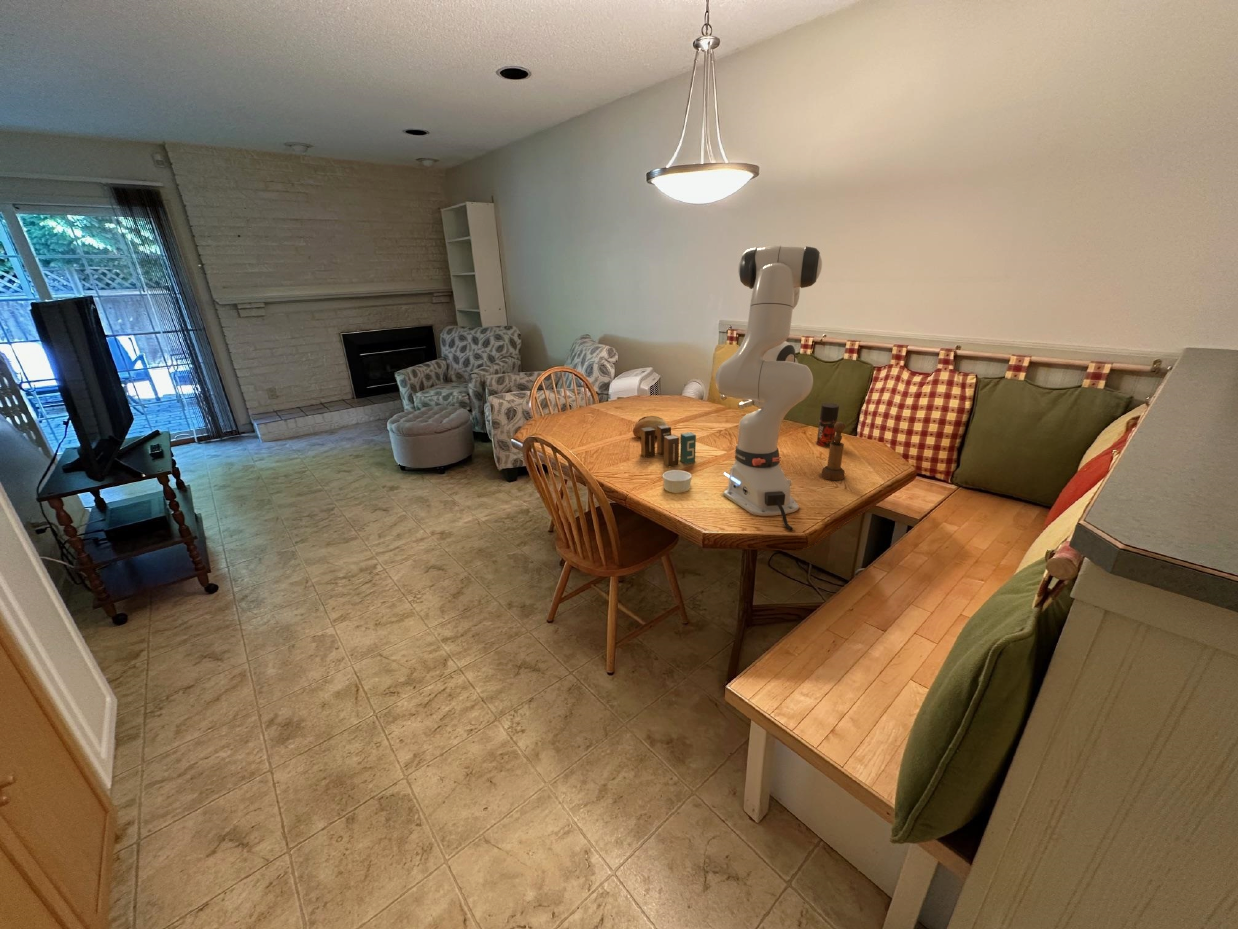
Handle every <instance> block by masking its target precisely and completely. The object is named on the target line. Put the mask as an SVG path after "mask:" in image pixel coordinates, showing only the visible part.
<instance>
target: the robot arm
mask: <svg viewBox="0 0 1238 929" xmlns="http://www.w3.org/2000/svg"><path fill="white" fill-rule="evenodd" d="M822 268H823V260H822V256H821V252H820V251H819V249H818V248H816V247H813V246H805V247H802V246H793V245H792V246H791V245H789V246H787V245H786V246H785V245H783V246H782V245H771V246H764V247H763V246H762V247H757V246H756V247H751V248H748V249H746V250H745V251H744V252H743V253H742V255H741V258H740V260H739V263H738V272H737V273H738V277H739V281H740V283H741V284H743V286H744V287H747V288H749V289H751V290H752V293H751V298H750V304H749V313H748V320H747V326H746V329H745V330H746V331H745V334H744V337H743V340H742V342H741V344H740V346H739V348H737V350H736V352H734V354H732V355H731V356H730V357H729V358H728V359H726V360H725V361H723V362H722V363H721V364H720V365H719V367H718V368H717V370H716V373H715V375H714V383H715V388H716V389H717V392H718V393H719V394H720V395H719V399H720V400H722V401H725V400H727V399H728V398H731V399H735V400H740V401H741V402H739V403H738V404H737V407H738V409H740V410H744V409H745V408H749V407H752V406H754V407H756V408H757V410H754V411H752V412H750V413H747V414H745V415H744V416H743V417H742V418H741V419H740V420H739V423H738V432H737V445H736V446H735V450H734V458H735V461H734V463H733V464H732V466H731V467H730V471H729V474H728V473H726V472H724V473H723V475H725V476H726V477H727V478H728V484H727V488H726V489H725V490H724V491H723V496H724V497H726V498H727V499H729V500H731V501H732V503H735V504H736V505H738V507H741V508H742V509H743V510H745V511H747V512H748V513H750V514H751V515H753V516H759V517H760V516H761V517H771V516H772V517H773V516H781V518H782V523H783V524H784V526H785V528H786V529H787V530H788V531H790V532H791V531H794V528H793V527H792V526H791V525H790V523H788V520H787V516H786V515H787V514H792V513H795V512H797V511H798V510H799V508H800V506H799V504H798V503H797V502H796V500H795V498H793V496H792V493H791V492H792V491H791V489H792V488H791V487H792V484H793V483H792V479H790V478H787V477H786V475H785V470H783V469H782V467H781V465H780V462H781V458H782V457H781V456H780V451H779V450H780V449H779V447H778V444H779V437H780V430H781V425H782V423H783V421H784V419H785V417H786V415H787V414H788V412H789V411H790V410H792V408H794V407H795V406H796V405H798V404H799V403H801V402H803V401H804V400H806V399H807V398H808V397H809V395H810V393H811V392H812V390H813V386H814V376H813V373H812V371H811V369H810V368H809V367H808V365H806V364H802V363H799V361H798V359H797V358H796V349H795V347H794V345H792V344H791V343H790V342H787V340H788V338H789V337H790V334H791V326H792V319H793V310H794V309H795V308H796V307H797V305H798V303H799V299H800V293H801V289H804V288H809V287H812V286H813V285H814V284H815V283H816V282H817V280H818V278H819V277H820V274H821V273H822Z"/></svg>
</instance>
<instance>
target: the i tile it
mask: <svg viewBox="0 0 1238 929" xmlns="http://www.w3.org/2000/svg"><path fill="white" fill-rule="evenodd" d="M640 455H641V456H643V457H644V458H649V457H655V456H656V436H655V429H653V428H651V427H648V428H641V437H640Z"/></svg>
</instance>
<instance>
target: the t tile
mask: <svg viewBox="0 0 1238 929" xmlns="http://www.w3.org/2000/svg"><path fill="white" fill-rule="evenodd" d="M670 435H672V427H671V426H670V425H668V424H667V425H661V426H657V436H656V453H658V454H660V455H664V436H670Z"/></svg>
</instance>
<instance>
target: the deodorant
mask: <svg viewBox="0 0 1238 929" xmlns="http://www.w3.org/2000/svg"><path fill="white" fill-rule="evenodd" d="M839 411H840V405H839V404H837V403H829V402H828V403H822V404H821V407H820V414H819V415H820V416H819V422H818V430H817V436H816V437H817V438H816V445H817V446H819V447H823V448H830V443H831V442H835V441H834V436H835V435H836V431H835V429H834V425H835V423H837V422H838V418H839Z"/></svg>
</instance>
